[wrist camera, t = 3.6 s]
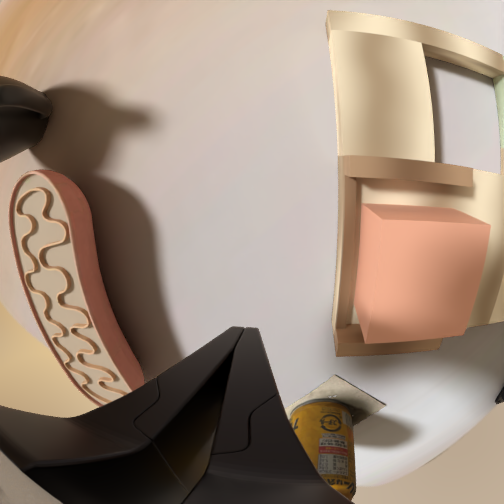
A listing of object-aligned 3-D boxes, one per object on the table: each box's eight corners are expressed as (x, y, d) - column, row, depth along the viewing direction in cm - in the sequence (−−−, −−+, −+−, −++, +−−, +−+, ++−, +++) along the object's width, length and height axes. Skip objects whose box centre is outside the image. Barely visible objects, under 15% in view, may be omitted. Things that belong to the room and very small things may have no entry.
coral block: (453, 208, 13) (491, 225, 9) (437, 300, 14) (463, 334, 11) (361, 203, 14) (382, 219, 10) (353, 303, 16) (365, 343, 12)
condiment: (270, 417, 23) (248, 524, 12) (334, 373, 20) (338, 508, 9) (322, 440, 24) (316, 535, 12) (384, 403, 21) (402, 512, 9)
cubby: (455, 165, 12) (473, 168, 10) (428, 332, 15) (438, 349, 13) (343, 155, 13) (349, 155, 11) (333, 336, 17) (336, 356, 15)
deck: (549, 93, 8) (561, 92, 6) (534, 303, 14) (544, 312, 13) (325, 24, 12) (327, 10, 10) (331, 320, 18) (333, 336, 17)
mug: (82, 152, 17) (-17, 167, 9) (14, 163, 19) (-56, 180, 10) (92, 58, 15) (2, 37, 6) (19, 91, 16) (-49, 92, 7)
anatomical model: (172, 390, 24) (152, 425, 20) (101, 375, 26) (80, 402, 22) (106, 151, 17) (58, 155, 13) (37, 179, 19) (-3, 189, 15)
